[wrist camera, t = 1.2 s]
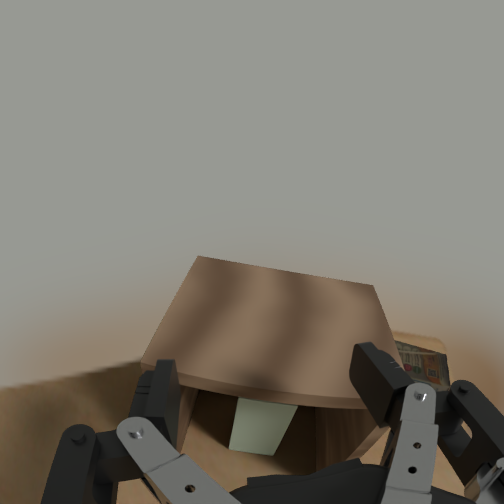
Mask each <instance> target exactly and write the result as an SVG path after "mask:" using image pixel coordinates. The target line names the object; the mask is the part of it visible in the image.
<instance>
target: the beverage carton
mask: <svg viewBox="0 0 504 504" xmlns="http://www.w3.org/2000/svg"><path fill="white" fill-rule="evenodd" d="M394 341H395V340H394ZM395 344H396V346H397V349H398V352H399V355H400V358H401V361H402V364H403V367H404V370H405V372H406V373H407V374H408V375H409V376H410V377H411V378H412V380H413V381H414V382H415V383H424V384H427V385H429V386H431V387H432V388H433V389H434V390H435V392H437V391H448V390H449V389H450V386H451V385H450V380H449V370H448V365H447V356H446V354H441V353H439V352H435V351H432V350H427V349H424V348H420V347H417V346H414V345H410V344H406V343H403V342H399V341H395Z"/></svg>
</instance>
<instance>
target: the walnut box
mask: <svg viewBox="0 0 504 504" xmlns="http://www.w3.org/2000/svg"><path fill="white" fill-rule="evenodd" d="M364 342H372V343H373V344H374V345H375V346H376V347H377V349H378V350H383V351H385V352H386V353H388V354H390V355H391V356H392V357H393V358H394V359H395V361H396V362H397V363H398V364H399V365H400V367H402V368H403V369H404V367H403V364H402V361H401V358H400V355H399V352H398V349H397V346H396V344H395V341H394V338H393V335H392V333H391V330H390V327H389V325H388V322H387V319H386V317H385V314H384V312H383V309H382V306H381V304H380V301H379V299H378V297H377V294H376V292H375V289H374V287H373V285H368V284H361V283H355V282H349V281H343V280H336V279H331V278H325V277H318V276H313V275H307V274H300V273H294V272H289V271H283V270H277V269H271V268H265V267H259V266H254V265H248V264H242V263H237V262H230V261H225V260H220V259H214V258H208V257H202V256H197V258H196V260H195V262H194V263H193V265H192V267H191V269H190V270H189V272H188V274H187V276H186V278H185V280H184V281H183V283H182V285H181V287H180V288H179V290H178V292H177V294H176V296H175V297H174V299H173V301H172V303H171V305H170V306H169V308H168V310H167V312H166V314H165V316H164V318H163V319H162V322H161V323H160V325H159V327H158V329H157V331H156V333H155V334H154V336H153V338H152V340H151V342H150V344H149V346H148V348H147V350H146V352H145V353H144V355H143V357H142V359H141V361H140V364H141V370H142V374H143V373H144V372H145V371H146V370H155V366H156V362H157V360H158V359H175V362H176V367H177V373H178V379H179V384H180V391H181V401H180V411H179V422H178V434H177V447H176V451H177V452H178V453H179V454H180V453H181V450H182V446H183V443H184V439H185V436H186V433H187V429H188V426H189V422H190V419H191V416H192V412H193V409H194V405H195V402H196V399H197V395H198V392H199V389H202V390H207V391H212V392H217V393H222V394H227V395H232V396H238V397H244V398H250V399H256V400H263V401H270V402H278V403H286V404H295V405H304V406H315V416H316V472H317V471H319V470H321V469H324V468H326V467H328V466H330V465H332V464H335V463H339V462H343V461H347V460H351V459H355V458H358V457H359V459H360V458H361V457H362V456H363V455H364V454H365V453H366V452H367V451H368V450H369V449H370V448H371V447H372V446H373V445H374V444H375V442H376V441H377V440H378V439H379V438H380V437H381V436H382V435H383V434H384V433H385V432H386V431H387V430H388V428H389V427H390V426H387V427H384V428H379V426H378V425H377V423H376V422H375V420H374V418H373V417H372V415H371V414H370V412H369V410H368V409H367V407H366V406H365V404H364V402H363V401H362V399H361V398H360V396H359V394H358V393H357V391H356V390H355V388H354V387H353V385H352V383H351V381H350V378H349V369H350V363H351V358H352V353H353V348H354V345H355V344H358V343H364ZM404 371H405V370H404Z"/></svg>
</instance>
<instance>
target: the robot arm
mask: <svg viewBox="0 0 504 504" xmlns="http://www.w3.org/2000/svg"><path fill="white" fill-rule="evenodd" d="M349 378H350V381H351V383H352V385H353V387H354V388H355V390H356V391H357V393H358V394H359V396H360V398H361V399H362V401H363V402H364V404H365V406H366V407H367V409H368V410H369V412H370V414H371V415H372V417H373V418H374V420H375V422H376V423H377V425H378V426H379V428H384V427H387V426H390V428H391V430H390V432H389V435H388V439H387V443H386V446H385V450H384V453H383V456H382V459H381V462H380V465H374V464H362V463H361V461H360V459H359V457H358V458H355V459H351V460H347V461H343V462H339V463H335V464H332V465H330V466H328V467H326V468H324V469H321V470H319V471H317V472H315V473H312V474H310V475H268V476H260V477H250V478H247V485H246V486H242V487H240V488H237V489H235V490H233V491H231V492H229V493H228V492H227V491H226V490H225V489H223V488H222V487H221V486H220V485H219V484H218V483H217V482H215V481H214V480H213V479H212V478H211V477H210V476H209V475H208V474H207V473H206V472H204V471H203V470H202V469H201V468H200V467H199V466H198V465H197V464H196V463H195V462H194V461H193V460H192V459H191V458H190V457H189V456H188V455H186V454H182V455H181V454H179V453H178V452H177V451H176V447H177V434H178V422H179V411H180V401H181V391H180V384H179V379H178V373H177V367H176V362H175V359H158V360H157V362H156V366H155V370H146V371H145V372H144V373H143V374H142V376H141V377H140V378H139V381H138V385H137V388H136V391H135V395H134V398H133V402H132V405H131V409H130V413H129V416H128V418H127V419H125V420H123V421H122V422H121V423H120V424H119V425H118V427H117V429H116V430H113V431H107V432H100V433H95V432H94V430H93V429H92V428H91V427H89V426H87V425H83V424H77V425H73V426H70V427H69V428H67V429H66V430H65V431H64V432H63V434H62V437H61V440H60V442H59V445H58V448H57V451H56V454H55V457H54V460H53V463H52V466H51V470H50V473H49V476H48V479H47V483H46V486H45V490H44V493H43V497H42V501H41V504H116V500H117V491H118V482H120V481H127V480H133V479H139V478H140V480H141V481H142V482H143V484H144V485H145V486H146V488H147V489H148V490H149V491H150V493H151V494H152V495H153V496H154V498H155V499H156V500H157V501H158V502H159V504H504V416H503V415H502V414H501V413H500V412H499V411H498V409H497V408H496V407H495V406H494V405H493V404H492V403H491V402H490V401H489V400H488V399H487V398H486V397H485V396H484V394H483V393H482V392H481V391H480V390H479V389H478V388H477V387H476V386H475V385H474V384H473V383H471V382H469V381H466V380H457V381H455V382H453V383H452V385H451V387H450V389H449V391H437V392H435V390H434V389H433V388H432V387H431V386H429V385H427V384H424V383H415V382H414V381H413V380H412V378H411V377H410V376H409V375H408V374H407V373H406V372H405V371H404V369H403V368H402V367H400V365H399V364H398V363H397V362H396V361H395V359H394V358H393V357H392V356H391V355H390V354H388V353H386V352H385V351H383V350H378V349H377V347H376V346H375V345H374V344H373V343H372V342H364V343H358V344H355V345H354V348H353V353H352V358H351V363H350V369H349ZM463 421H465V423H466V424H467V425H468V426H469V427H470V429H471V431H472V439H471V438H470V437H469V435H468V434H467V433H466V431H465V430H464V429H463V427H462V426H461V424H462V423H463ZM437 444H438V446H439V447H440V449H441V451H442V452H443V454H444V455H445V457H446V458H447V460H448V461H449V463H450V464H451V466H452V468H453V469H454V471H455V472H456V474H457V476H458V477H459V479H460V480H461V482H462V483H463V485H464V487H465V489H464V496H465V497H463V496H460V495H456V494H453V493H450V492H448V491H445V490H442V489H439V488H436V487H434V486H431V483H432V477H433V471H434V464H435V457H436V449H437Z"/></svg>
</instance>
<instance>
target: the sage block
mask: <svg viewBox="0 0 504 504" xmlns="http://www.w3.org/2000/svg"><path fill="white" fill-rule="evenodd" d="M297 407H298V405H295V404H286V403H278V402H270V401H263V400H256V399H250V398H244V397H238V402H237V407H236V412H235V417H234V423H233V428H232V433H231V439H230V444H229V449H230V450H236V451H242V452H249V453H256V454H264V455H274V453H275V451H276V449H277V447H278V445H279V444H280V442H281V440H282V438H283V436H284V434H285V432H286V430H287V428H288V426H289V424H290V422H291V420H292V418H293V416H294V414H295V411H296V409H297Z"/></svg>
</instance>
